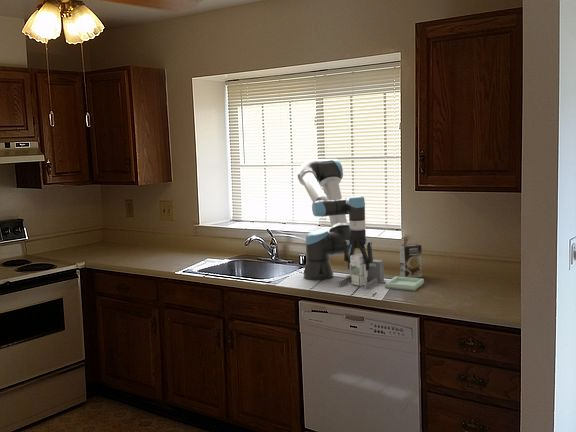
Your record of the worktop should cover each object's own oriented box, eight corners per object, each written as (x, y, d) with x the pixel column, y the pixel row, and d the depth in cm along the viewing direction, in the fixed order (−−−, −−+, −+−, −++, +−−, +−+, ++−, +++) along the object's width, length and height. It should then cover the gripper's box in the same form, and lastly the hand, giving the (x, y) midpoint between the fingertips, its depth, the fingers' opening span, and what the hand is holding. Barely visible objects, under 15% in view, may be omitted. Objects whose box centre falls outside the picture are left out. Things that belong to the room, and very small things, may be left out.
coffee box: (405, 279, 298) (404, 246, 295) (399, 276, 304) (399, 244, 301) (422, 277, 300) (421, 245, 298) (416, 274, 306) (415, 242, 304)
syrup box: (367, 284, 291) (366, 254, 289) (360, 286, 287) (359, 256, 285) (358, 282, 295) (357, 253, 293) (350, 284, 291) (349, 255, 289)
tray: (385, 288, 282) (385, 283, 282) (395, 281, 294) (395, 276, 294) (414, 290, 275) (414, 285, 275) (423, 283, 287) (423, 278, 287)
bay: (337, 286, 289) (337, 265, 288) (353, 277, 305) (353, 258, 304) (369, 289, 281) (368, 268, 280) (383, 280, 297) (383, 260, 296)
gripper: (335, 229, 289) (337, 276, 292) (373, 231, 279) (375, 279, 282) (342, 226, 296) (343, 273, 299) (379, 228, 286) (380, 276, 289)
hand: (358, 276), depth 291 cm, fingers closed on syrup box, 7 cm apart
